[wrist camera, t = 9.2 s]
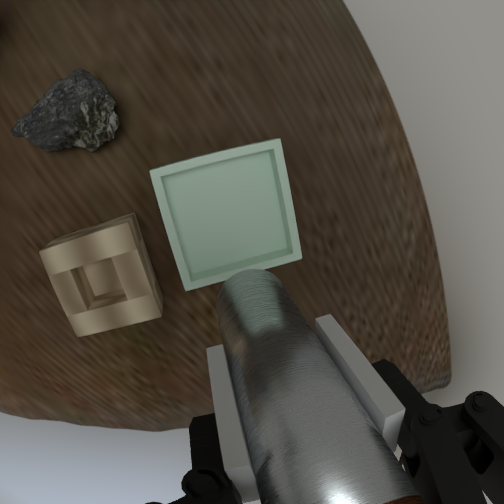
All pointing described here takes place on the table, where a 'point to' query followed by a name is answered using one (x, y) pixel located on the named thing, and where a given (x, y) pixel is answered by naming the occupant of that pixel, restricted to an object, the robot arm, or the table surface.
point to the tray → (228, 212)
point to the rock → (71, 115)
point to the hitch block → (104, 276)
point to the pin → (300, 405)
